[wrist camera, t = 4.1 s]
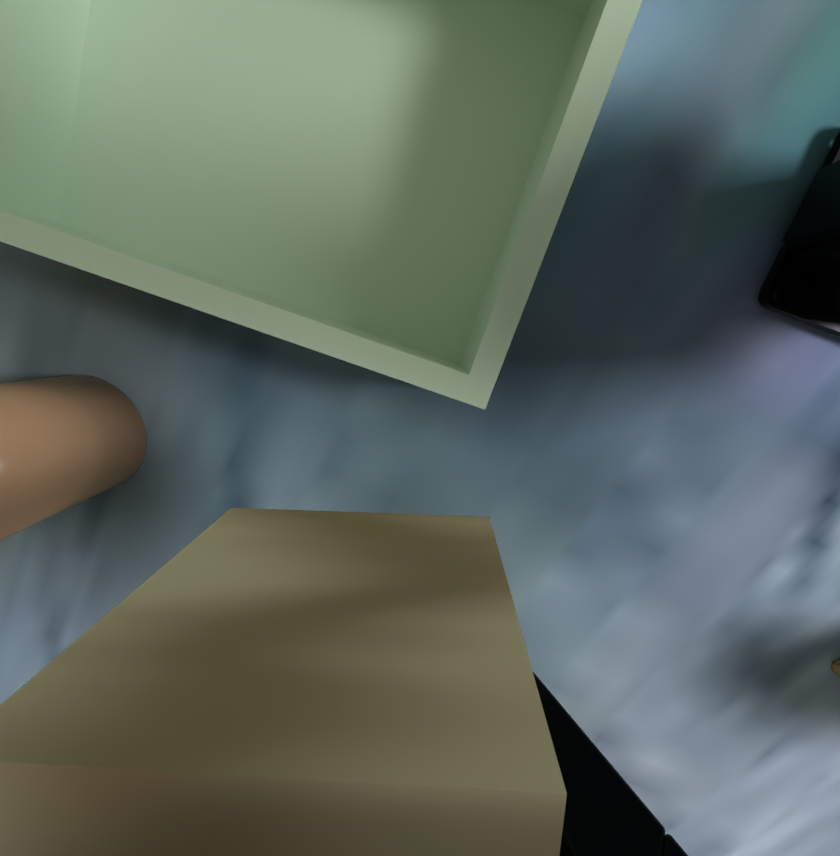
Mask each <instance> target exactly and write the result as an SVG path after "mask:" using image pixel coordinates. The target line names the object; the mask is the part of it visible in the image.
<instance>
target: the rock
mask: <svg viewBox="0 0 840 856" xmlns="http://www.w3.org/2000/svg"><path fill="white" fill-rule="evenodd" d="M832 670H833V671H834V672H835V673H836V674H837V675H839V676H840V659H839V660H836V661H834V662H833V664H832Z"/></svg>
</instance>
